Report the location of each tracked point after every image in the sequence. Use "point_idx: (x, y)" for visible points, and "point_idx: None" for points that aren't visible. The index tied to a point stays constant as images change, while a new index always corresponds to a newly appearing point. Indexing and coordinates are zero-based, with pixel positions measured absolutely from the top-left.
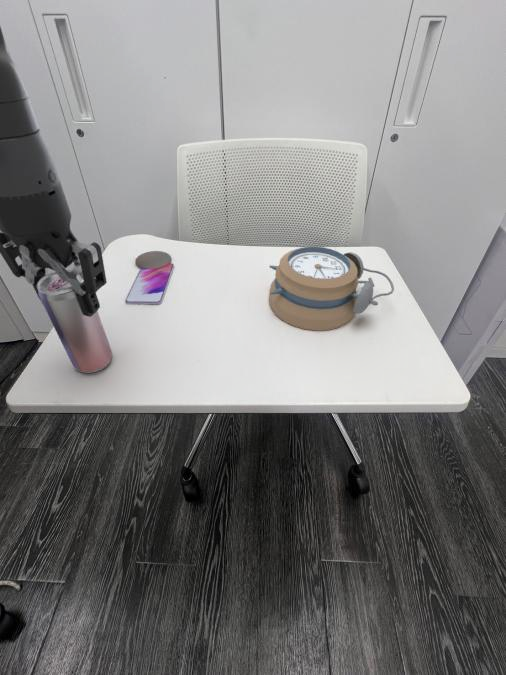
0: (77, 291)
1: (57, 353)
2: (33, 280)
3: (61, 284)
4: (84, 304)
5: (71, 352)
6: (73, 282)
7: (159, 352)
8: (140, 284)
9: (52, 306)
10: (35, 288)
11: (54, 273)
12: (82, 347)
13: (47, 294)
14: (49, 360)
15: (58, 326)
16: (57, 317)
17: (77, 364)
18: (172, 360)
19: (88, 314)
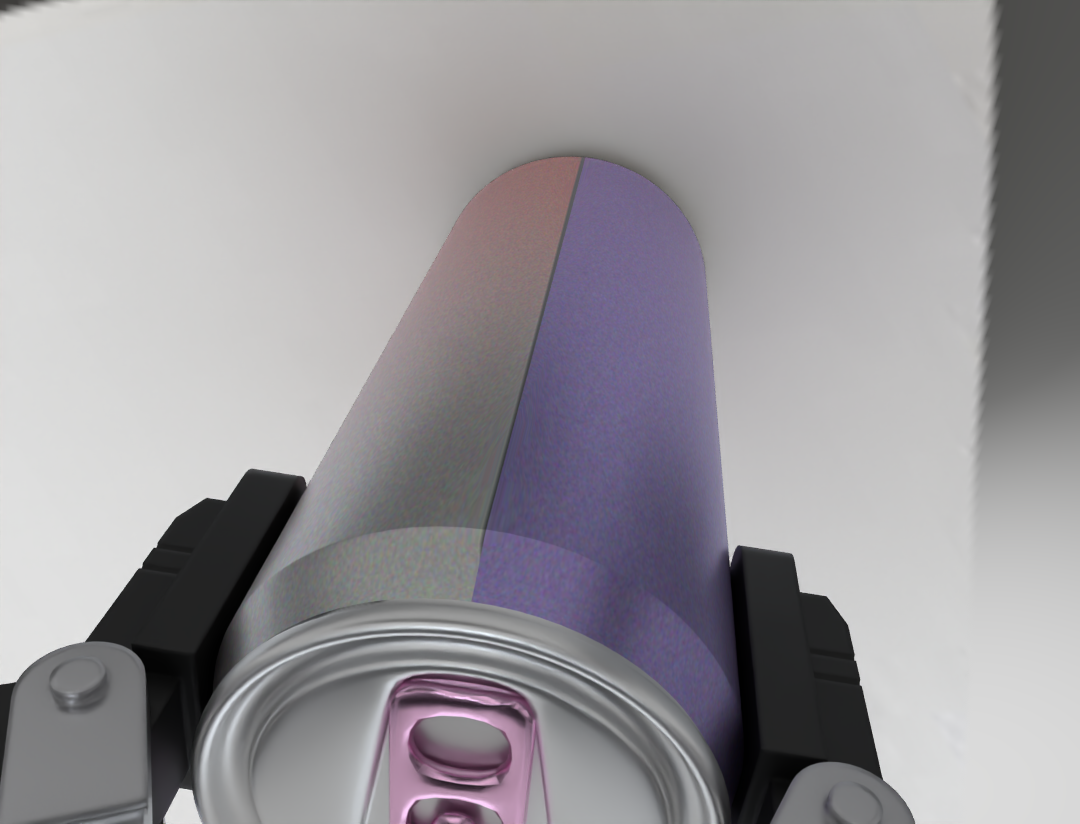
0: (95, 682)
1: (871, 303)
2: (787, 811)
3: (401, 776)
4: (191, 562)
5: (572, 219)
6: (49, 798)
7: (229, 408)
8: None
9: (467, 480)
10: (814, 713)
11: None
12: (462, 257)
13: (457, 605)
14: (896, 234)
15: (551, 339)
16: (493, 396)
17: (580, 178)
18: (121, 361)
19: (240, 483)
